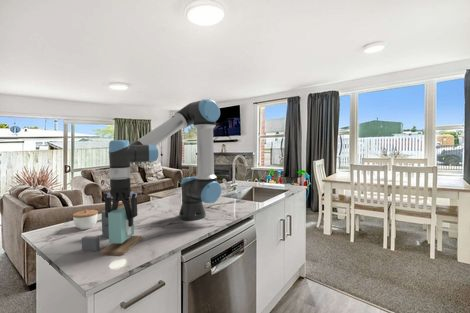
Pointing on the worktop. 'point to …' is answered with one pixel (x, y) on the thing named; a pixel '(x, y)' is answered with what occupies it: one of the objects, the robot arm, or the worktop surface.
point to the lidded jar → (85, 219)
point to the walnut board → (120, 246)
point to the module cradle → (93, 241)
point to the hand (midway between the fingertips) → (122, 234)
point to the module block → (118, 226)
